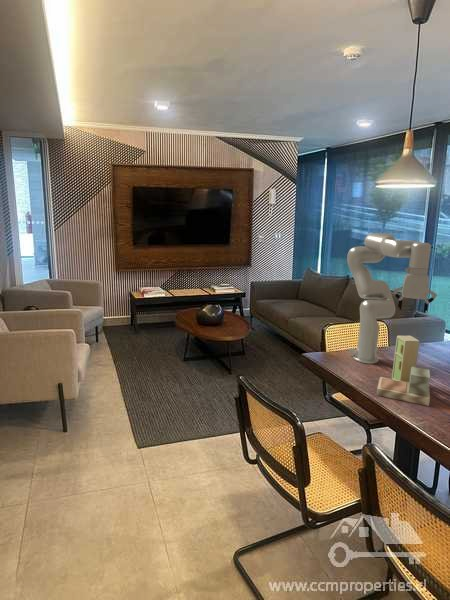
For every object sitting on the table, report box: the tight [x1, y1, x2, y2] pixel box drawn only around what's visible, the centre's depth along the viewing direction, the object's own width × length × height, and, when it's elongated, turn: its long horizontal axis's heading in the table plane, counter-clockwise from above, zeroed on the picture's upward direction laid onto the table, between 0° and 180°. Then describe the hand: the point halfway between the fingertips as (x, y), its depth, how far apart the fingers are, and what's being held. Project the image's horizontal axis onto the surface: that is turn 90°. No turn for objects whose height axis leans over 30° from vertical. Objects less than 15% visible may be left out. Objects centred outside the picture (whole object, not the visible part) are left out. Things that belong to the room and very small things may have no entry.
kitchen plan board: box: [376, 366, 431, 407], centre depth 179 cm, size 20×14×11 cm
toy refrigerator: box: [391, 335, 420, 382], centre depth 190 cm, size 8×7×21 cm
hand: (412, 310), depth 185 cm, fingers open, 9 cm apart
